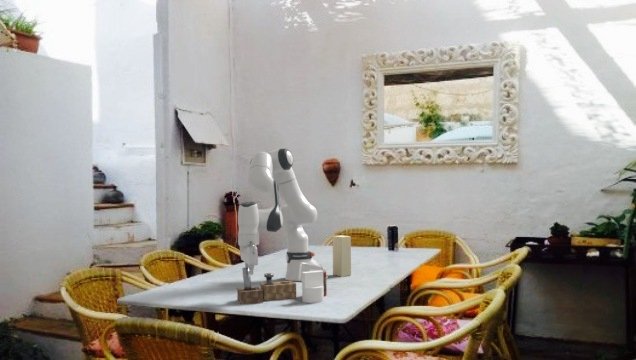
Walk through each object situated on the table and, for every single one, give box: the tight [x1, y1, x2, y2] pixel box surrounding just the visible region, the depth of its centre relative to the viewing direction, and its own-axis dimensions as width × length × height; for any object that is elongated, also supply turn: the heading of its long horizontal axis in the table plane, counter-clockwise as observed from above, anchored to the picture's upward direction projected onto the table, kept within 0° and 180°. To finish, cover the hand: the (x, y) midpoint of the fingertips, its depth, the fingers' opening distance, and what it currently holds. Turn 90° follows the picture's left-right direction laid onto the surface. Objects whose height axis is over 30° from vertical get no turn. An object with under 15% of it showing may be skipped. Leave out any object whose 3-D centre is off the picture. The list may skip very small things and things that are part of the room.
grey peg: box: [241, 266, 253, 291], centre depth 220 cm, size 3×3×14 cm
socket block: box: [259, 280, 297, 301], centre depth 227 cm, size 14×8×6 cm, turn 108°
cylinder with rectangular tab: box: [301, 270, 325, 304], centre depth 220 cm, size 9×9×12 cm
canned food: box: [309, 268, 328, 297], centre depth 230 cm, size 8×8×11 cm
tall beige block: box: [332, 234, 352, 277], centre depth 282 cm, size 8×7×21 cm
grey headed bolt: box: [263, 272, 274, 285], centre depth 226 cm, size 4×4×8 cm
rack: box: [236, 286, 264, 305], centre depth 220 cm, size 9×9×5 cm
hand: (249, 273), depth 220 cm, fingers open, 5 cm apart
